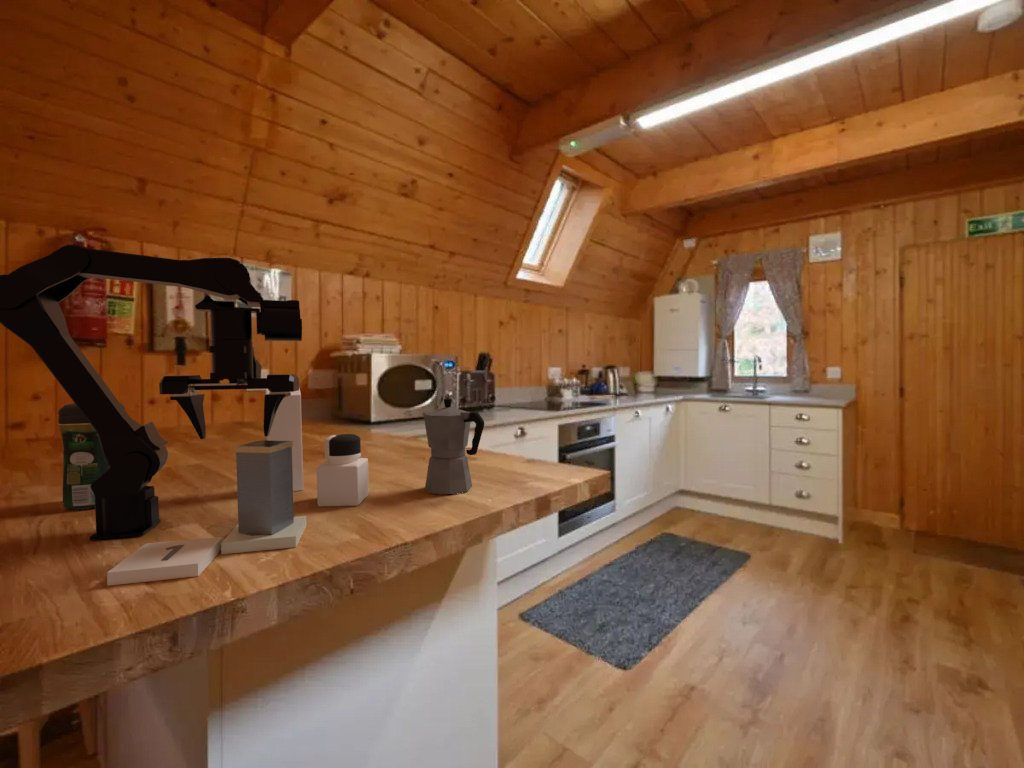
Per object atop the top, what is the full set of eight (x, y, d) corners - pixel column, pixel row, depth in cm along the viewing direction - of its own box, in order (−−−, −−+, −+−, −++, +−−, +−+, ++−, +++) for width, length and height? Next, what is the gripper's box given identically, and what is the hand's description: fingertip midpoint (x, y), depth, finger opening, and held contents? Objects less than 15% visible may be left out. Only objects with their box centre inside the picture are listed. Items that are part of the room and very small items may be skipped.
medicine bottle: (369, 495, 90) (368, 431, 90) (358, 506, 83) (357, 437, 83) (331, 495, 90) (329, 432, 90) (316, 507, 83) (315, 438, 83)
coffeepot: (407, 489, 94) (406, 398, 93) (440, 479, 102) (439, 395, 101) (467, 502, 86) (466, 401, 85) (498, 490, 93) (498, 398, 92)
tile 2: (221, 554, 62) (221, 542, 62) (241, 531, 71) (241, 520, 71) (296, 547, 65) (295, 535, 65) (306, 525, 73) (306, 515, 73)
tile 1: (107, 585, 54) (106, 571, 54) (146, 554, 62) (145, 542, 62) (198, 576, 56) (197, 562, 56) (223, 547, 65) (222, 536, 65)
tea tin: (237, 533, 66) (234, 446, 65) (262, 520, 71) (259, 440, 70) (272, 534, 65) (269, 447, 64) (294, 522, 70) (292, 440, 70)
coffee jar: (90, 496, 90) (85, 398, 90) (137, 494, 92) (133, 397, 91) (51, 512, 81) (46, 402, 80) (105, 509, 82) (100, 401, 82)
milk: (267, 488, 96) (264, 378, 95) (300, 483, 99) (297, 377, 98) (269, 494, 91) (265, 378, 90) (304, 490, 94) (300, 378, 93)
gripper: (303, 342, 87) (305, 428, 87) (185, 342, 82) (189, 433, 83) (291, 339, 76) (294, 437, 77) (155, 339, 71) (159, 443, 72)
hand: (235, 437), depth 77 cm, fingers open, 9 cm apart
